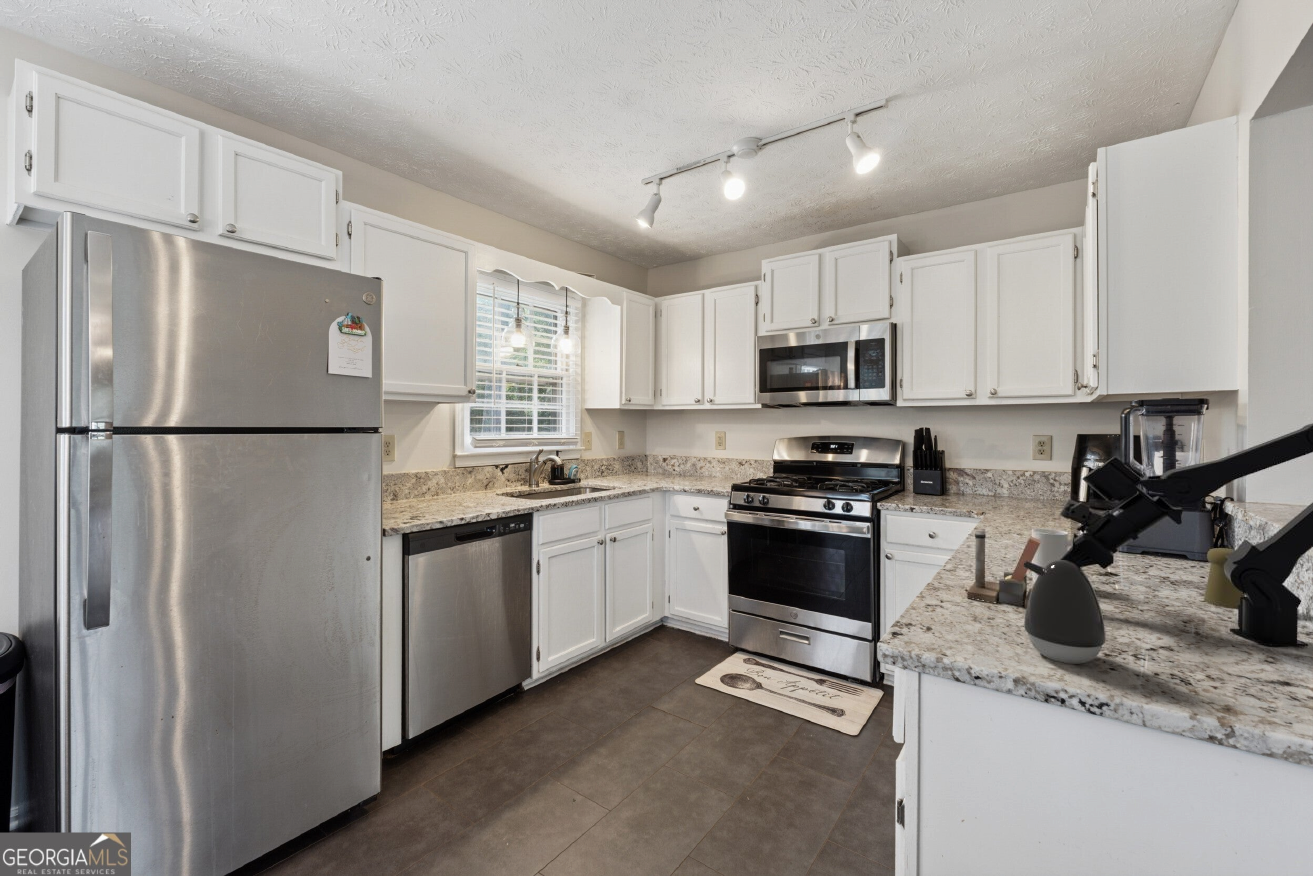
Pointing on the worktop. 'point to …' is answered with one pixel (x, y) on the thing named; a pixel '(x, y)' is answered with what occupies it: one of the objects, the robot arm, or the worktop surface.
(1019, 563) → the adjuster lever
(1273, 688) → the worktop surface
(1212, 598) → the olive tapered cylinder
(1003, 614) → the worktop surface
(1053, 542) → the mug
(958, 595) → the worktop surface
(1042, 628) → the pump dispenser
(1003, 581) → the stand
